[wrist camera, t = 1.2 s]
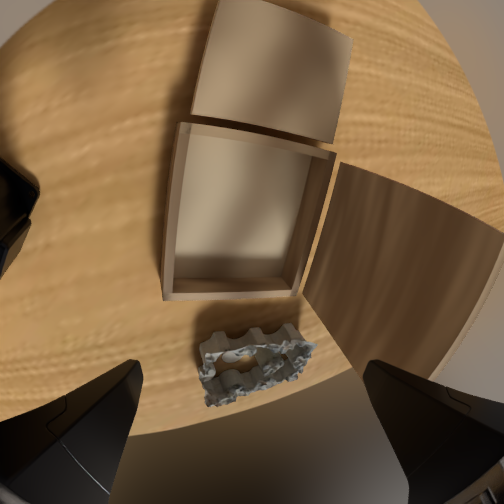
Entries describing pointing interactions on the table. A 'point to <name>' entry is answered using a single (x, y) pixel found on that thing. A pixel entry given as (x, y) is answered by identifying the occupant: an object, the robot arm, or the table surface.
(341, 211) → the flap
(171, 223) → the carton
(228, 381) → the egg carton
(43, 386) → the table surface
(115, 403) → the robot arm
